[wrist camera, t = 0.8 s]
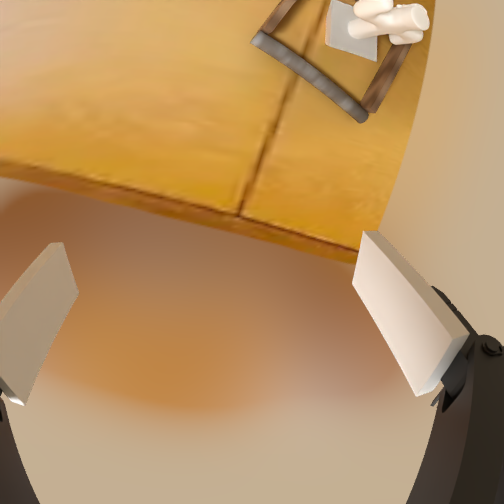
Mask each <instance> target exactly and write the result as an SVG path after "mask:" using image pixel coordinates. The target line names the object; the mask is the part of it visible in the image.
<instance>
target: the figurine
mask: <svg viewBox="0 0 504 504" xmlns="http://www.w3.org/2000/svg"><path fill="white" fill-rule="evenodd" d="M429 25H430V22H429V18H428V16H427V11H426V9H425V8H424V7H423V6H422V5H420V4H417V3H415V4H408V5H405V4H403V5H396V7H393V0H359V1H357V2H356V3H355V4H354V6H350V5H348V4H345V3H343V2H340V1H337V0H331V3H330V6H329V10H328V13H327V16H326V36H325V44H326V45H328V46H330V47H333V48H336V49H340V50H343V51H346V52H349V53H352V54H355V55H358V56H361V57H364V58H367V59H370V60H372V61H375V62H377V36H379V35H384V34H389V39H390V41H391V43H393V44H395V45H400V44H410V43H416V42H419V41H421V40H422V38H423V31H422V30H427V29H428V28H429Z"/></svg>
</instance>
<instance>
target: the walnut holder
mask: <svg viewBox="0 0 504 504" xmlns="http://www.w3.org/2000/svg"><path fill="white" fill-rule="evenodd" d="M355 1H359V0H355ZM295 2H296V0H282V1H281V2H280V3H279V4H278V6H277V7H276V8H275V9H274V11H273V12H272V13H271V15H270V16H269V17H268V18H267V20H266V21H265V22H264V24H263V25H262V26H261V28H260V29H259V30H258V32H257V34H256V35H255V36H254V37H253V39H252V40H251V42H250V43H251V44H253V45H254V46H256V47H258V48H259V49H261V50H263V51H264V52H266V53H267V54H269V55H270V56H272V57H274V58H275V59H277V60H278V61H280V62H281V63H283V64H284V65H286V66H287V67H288V68H290V69H291V70H293V71H294V72H296V73H297V74H298V75H300V76H301V77H303V78H304V79H305V80H307V81H308V82H309V83H311V84H312V85H313V86H315V87H316V88H317V89H319V90H320V91H321V92H322V93H324V94H325V95H326V96H328V97H329V98H330V99H331V100H333V101H334V102H335V103H336V104H337V105H339V106H340V107H341V108H342V109H343V110H345V111H346V112H347V113H348V114H349V115H350V116H352V117H353V118H354V119H355V120H356V121H357V122H358V123H363V122H365V121H366V120H367V119H368V116H369V114H368V113H367V112H369V113H376V111H377V109H378V108H379V106H380V104H381V102H382V100H383V98H384V97H385V95H386V93H387V91H388V89H389V87H390V85H391V84H392V82H393V80H394V78H395V76H396V74H397V72H398V70H399V68H400V66H401V64H402V63H403V61H404V59H405V57H406V55H407V53H408V51H409V49H410V47H411V45H412V43H410V44H400V45H395V44H393V45H392V47H391V48H390V50H389V52H388V54H387V56H386V57H385V59H384V61H383V63H382V65H381V66H380V68H379V70H378V72H377V74H376V75H375V77H374V79H373V81H372V82H371V84H370V86H369V88H368V90H367V91H366V93H365V95H364V97H363V98H362V100H361V102H360V104H358V103H356V102H355V101H354V100H353V99H352V98H351V97H350V96H349V95H347V94H346V93H345V92H344V91H343V90H342V89H340V88H339V87H338V86H337V85H336V84H334V83H333V82H332V81H331V80H330V79H328V78H327V77H326V76H325V75H323V74H322V73H321V72H320V71H318V70H317V69H316V68H314V67H313V66H312V65H310V64H309V63H308V62H306V61H305V60H304V59H302V58H301V57H299V56H298V55H297V54H295V53H294V52H292V51H291V50H290V49H288V48H287V47H285V46H284V45H282V44H281V43H279V42H278V41H276V40H275V39H273V38H272V37H270V36H268V34H269V33H271V32H272V31H273V30H274V29H275V28H276V26H277V25H278V24H279V22H280V21H281V20H282V18H283V17H284V16H285V14H286V13H287V12H288V10H289V9H290V8H291V7H292V5H293V4H294V3H295Z"/></svg>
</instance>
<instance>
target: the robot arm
mask: <svg viewBox="0 0 504 504" xmlns="http://www.w3.org/2000/svg"><path fill="white" fill-rule="evenodd" d="M352 285H353V286H354V287H355V289H356V291H357V293H358V294H359V296H360V298H361V299H362V301H363V302H364V304H365V306H366V307H367V309H368V311H369V312H370V314H371V316H372V318H373V319H374V321H375V323H376V324H377V326H378V328H379V330H380V331H381V333H382V335H383V337H384V338H385V340H386V342H387V344H388V345H389V347H390V349H391V351H392V352H393V354H394V356H395V358H396V360H397V362H398V363H399V365H400V367H401V369H402V371H403V373H404V374H405V377H406V378H407V380H408V382H409V384H410V386H411V388H412V390H413V392H414V394H415V395H416V397H417V396H419V395H422V394H425V393H428V392H431V391H433V390H434V388H435V387H436V386H437V384H438V383H439V381H440V380H441V381H442V383H443V385H444V387H443V389H442V390H441V391H440V392H439V394H438V395H437V396H436V398H435V399H434V400H433V402H432V404H431V406H434V405H435V404H436V402H437V401H438V400H439V402H438V406H437V411H436V415H435V419H434V424H433V427H432V431H431V435H430V438H429V442H428V445H427V448H426V451H425V455H424V458H423V461H422V464H421V467H420V469H419V473H418V475H417V478H416V480H415V483H414V486H413V488H412V491H411V493H410V496H409V498H408V500H407V503H406V504H504V346H502V345H501V344H500V342H499V341H498V340H496V339H495V338H493V337H491V336H489V335H478V334H477V333H476V331H475V330H474V329H473V328H472V327H471V325H470V324H469V323H468V321H467V320H466V319H465V318H464V317H463V316H462V314H461V313H460V312H459V311H457V308H456V307H455V306H454V305H453V304H451V301H450V300H449V299H448V298H447V297H446V295H445V294H444V293H443V292H441V291H440V290H438V289H437V288H435V287H434V286H430V285H429V284H428V283H427V282H426V281H425V279H424V278H423V277H422V276H421V275H420V274H419V273H418V272H417V271H416V269H415V268H414V267H413V266H412V265H411V264H410V263H409V262H408V261H407V260H406V259H405V258H404V257H403V256H402V255H401V254H400V253H399V252H398V251H397V249H396V248H395V247H393V245H392V244H391V243H390V242H389V241H388V240H387V239H386V238H385V237H384V236H383V235H382V234H381V233H380V232H378V231H363V235H362V240H361V245H360V250H359V255H358V259H357V264H356V269H355V273H354V277H353V282H352ZM78 294H79V291H78V288H77V286H76V283H75V280H74V277H73V274H72V271H71V268H70V265H69V261H68V258H67V255H66V251H65V248H64V244H63V242H61V243H50V244H49V245H48V246H47V247H46V248H45V249H44V251H43V252H42V253H41V254H40V255H39V256H38V257H37V258H36V259H35V260H34V262H33V263H32V264H31V265H30V266H29V267H28V268H27V270H26V271H25V272H24V273H23V275H22V276H21V277H20V278H19V279H18V281H17V282H16V283H15V284H14V285H13V287H12V288H11V289H10V290H9V292H8V293H7V294H6V295H5V297H4V298H3V300H2V301H1V302H0V396H1V394H2V391H3V392H4V394H5V395H6V396H7V397H8V398H9V399H10V400H11V401H12V402H15V403H18V404H21V405H24V406H25V405H26V402H27V400H28V397H29V395H30V392H31V390H32V387H33V385H34V382H35V380H36V377H37V375H38V373H39V371H40V369H41V366H42V364H43V362H44V360H45V358H46V355H47V353H48V351H49V349H50V347H51V345H52V343H53V341H54V339H55V337H56V335H57V333H58V331H59V329H60V327H61V325H62V323H63V322H64V319H65V318H66V316H67V314H68V312H69V310H70V309H71V307H72V305H73V303H74V302H75V299H76V298H77V296H78ZM0 504H40V503H39V501H38V499H37V497H36V495H35V493H34V490H33V488H32V486H31V484H30V481H29V479H28V476H27V474H26V471H25V469H24V467H23V464H22V461H21V458H20V455H19V453H18V450H17V447H16V443H15V440H14V437H13V434H12V431H11V427H10V423H9V419H8V416H7V411H6V407H5V404H4V401H3V400H2V399H1V397H0Z"/></svg>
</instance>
